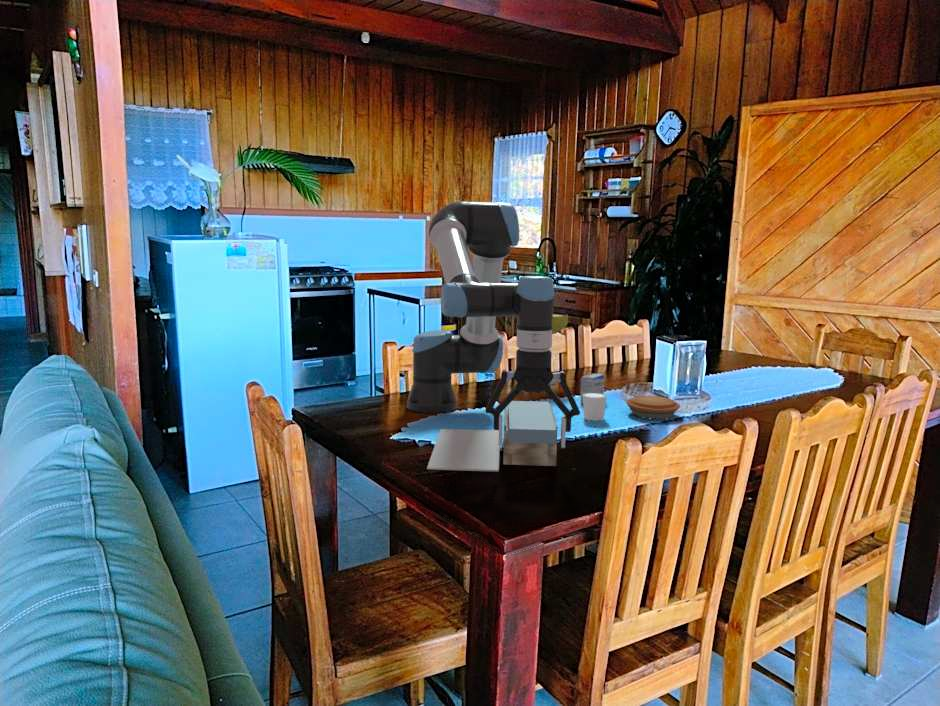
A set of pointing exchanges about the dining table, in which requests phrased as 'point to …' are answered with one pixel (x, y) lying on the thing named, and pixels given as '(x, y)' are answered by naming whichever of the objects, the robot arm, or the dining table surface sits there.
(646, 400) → the pie
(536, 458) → the wooden box
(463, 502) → the dining table surface
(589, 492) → the dining table surface
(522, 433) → the pale grey block
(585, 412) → the white cup
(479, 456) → the mat
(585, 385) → the medicine box
